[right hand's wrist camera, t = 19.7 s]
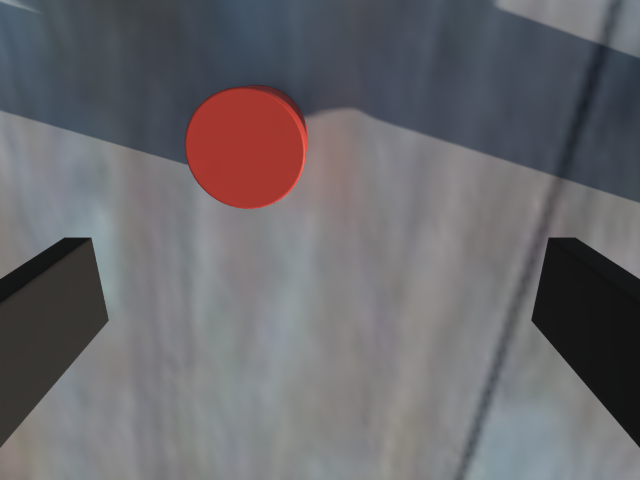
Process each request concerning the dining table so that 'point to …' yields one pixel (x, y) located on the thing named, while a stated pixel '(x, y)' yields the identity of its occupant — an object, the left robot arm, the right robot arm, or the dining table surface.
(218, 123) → the canister
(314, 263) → the dining table surface
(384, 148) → the dining table surface
